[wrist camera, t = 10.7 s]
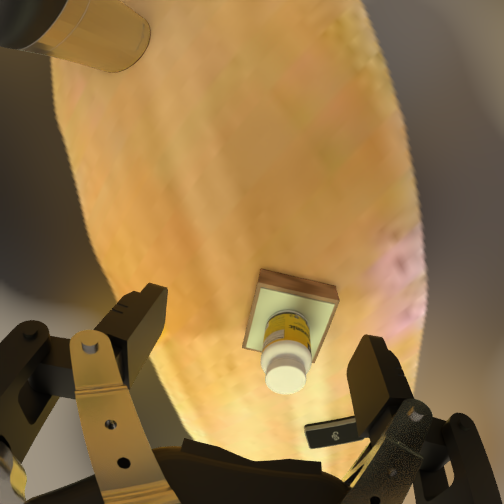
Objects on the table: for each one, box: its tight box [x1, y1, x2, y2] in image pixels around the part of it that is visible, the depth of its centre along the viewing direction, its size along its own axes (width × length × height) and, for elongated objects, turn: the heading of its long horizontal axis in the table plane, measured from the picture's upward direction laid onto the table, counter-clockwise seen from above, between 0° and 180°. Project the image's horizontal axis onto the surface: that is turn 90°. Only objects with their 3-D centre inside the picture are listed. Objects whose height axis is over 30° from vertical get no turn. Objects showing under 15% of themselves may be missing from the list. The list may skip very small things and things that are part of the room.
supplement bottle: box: [261, 310, 312, 394], centre depth 32 cm, size 5×5×10 cm
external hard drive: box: [305, 416, 364, 449], centre depth 48 cm, size 7×11×2 cm, turn 107°
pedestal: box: [242, 269, 340, 363], centre depth 38 cm, size 10×10×4 cm
